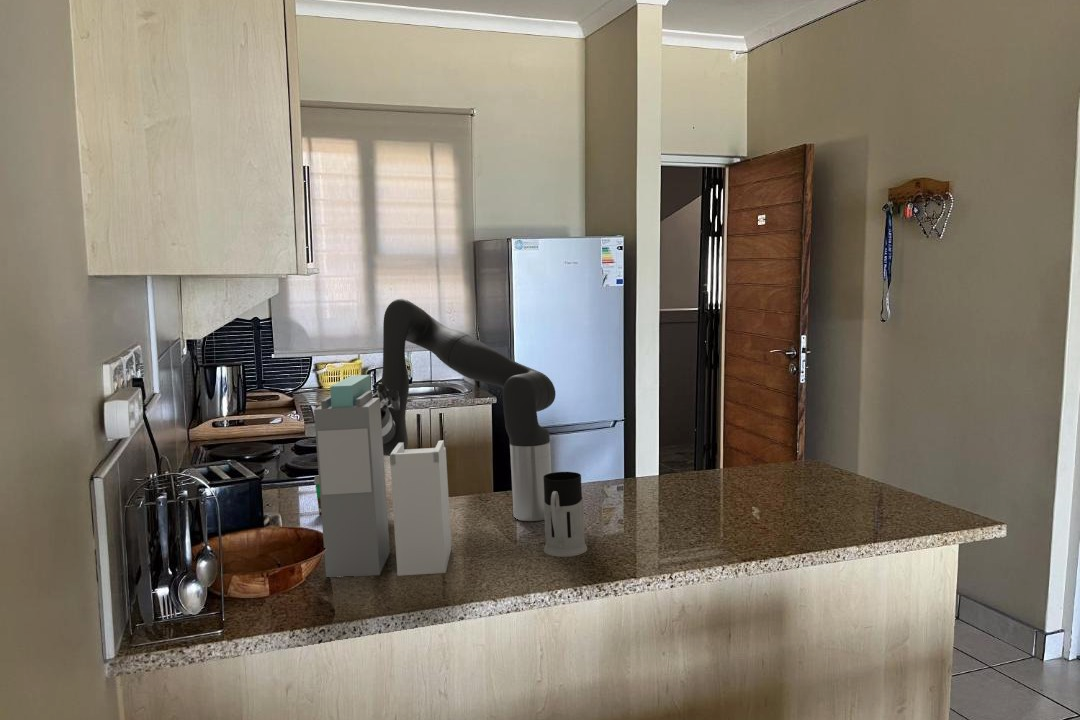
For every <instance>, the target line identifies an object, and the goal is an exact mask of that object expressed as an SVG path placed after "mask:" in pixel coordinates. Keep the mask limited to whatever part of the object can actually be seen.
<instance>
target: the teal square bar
mask: <svg viewBox="0 0 1080 720" xmlns="http://www.w3.org/2000/svg"><path fill="white" fill-rule="evenodd" d="M329 391H330V393H329V394H330V396H331V408H340V407H354V406H355V405H356V399H357V398H358V397H360V396H361V395H363V394H364V393H366V392H367V391H372V381H371V374H358V375H350V376H348V377H346V378H344V379H342V380H341V381H338V382H336V383H334V384H332V385H331V386H329Z"/></svg>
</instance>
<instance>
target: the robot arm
mask: <svg viewBox="0 0 1080 720" xmlns="http://www.w3.org/2000/svg"><path fill="white" fill-rule="evenodd" d="M382 331H383V334H382V335H383V336H382V337H383V338H382V341H383V342H382V343H383V344H382V346H383V347H382V374H381V381H380V382H378V383H377V391H376V392H374V393H372V395H373V398H380V410H381V425H382V440H383V455H384V456H386V457H390V454H391V452H392V451H393V450H394V448H395V447H396V446H397V444H398V443H403V442H404V450H405V449H408V447H409V439H408V438H409V437H408V433H407V432H408V430H407V424H406V423H407V421H406V413H407V405H408V397H409V392H410V380H409V373H408V368H407V361H406V342H409V343H411V344H414V345H416V346H419V347H421V348H423V349H426V350H427V351H429V352H431V353H432V354H434V355H435V357H437V358H438V360H440V362H442V363H443V364H444V365H446V366H447V367H448V368H450V369H451V370H452V371H455V372H457V373H458V374H460V375H461V376H463V377H466V378H468V379H470V380H473V381H477V382H481V383H485V384H487V385H488V384H489V385H493V386H497V387H500V388H502V407H503V416H504V418H503V419H504V426H505V430H506V434H507V436H508V438H509V449H510V450H509V452H510V470H511V473H510V474H511V490H512V493H511V494H512V511H513V518H514V517H515V518H516V519H515V518H514V519H515V520H517V519H518V521H523V522H538V521H545V517H544V479H543V477H544V475H546V474H550V473H552V463H551V461H552V460H551V459H552V458H551V438H550V437H551V436H550V430H549V429H548V428H546V427H543V426H541V425H540V424H539V420H538V413H537V412H541V411H544V410H546V409H548V408H549V407H550V406H552V404H553V403H554V402H555V399H556V389H555V386H554V383H553V381H552V380H551V379H550V378H549V377H548V376H547V375H546V374H544V373H543V372H541V371H538V370H536V369H533V368H531V367H528V366H526V365H524V364H521V363H519V362H517V361H514V360H513V359H511V358H509V357H507V356H506V355H504V354H503V353H501V352H499V351H498V350H496V349H493V348H491V347H490V346H488V345H486V344H484V343H483V342H482V341H480V340H478V339H477V338H475V337H473V336H471V335H470V334H467V333H465V332H463V331H459V330H457V329H452V328H450V327H447V326H445V325H443V324H442V323H440V322H439V321H438V320H436V319H435V318H434V317H432V316H431V315H430V314H429V313H428V312H426V311H425V310H424V309H422V307H419V306H418V305H416V304H414V303H413V302H411V301H410V300H407V299H404V298H397V299H395V300H393V301H392V302H391V303H389V304H388V305H387V307H386V309H385V311H384V315H383V330H382Z"/></svg>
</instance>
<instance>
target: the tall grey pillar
mask: <svg viewBox="0 0 1080 720" xmlns="http://www.w3.org/2000/svg"><path fill="white" fill-rule="evenodd" d="M372 394H373V390H371V391H367V392H366V393H364V394H363V395H361V396H360V397H358V398H357V399H356V405H355V406H354V407H340V408H331V395H329V396H327V397H326V398H324V399H323V400H321V401H320V405H319V406H318V407H316V408H314V409H313V414H314V415H313V416H314V430H315V440H316V441H315V443H316V456H317V457H316V458H317V470H318V476H319V486H320V500H321V514H322V515H321V524H322V525H321V526H322V537H323V549H324V548H327V550H326V551H325V553H324V568H325V578H326V577H337V576H338V578H343V577H342V576H354V577H365V576H366V577H369V576H380V575H381V574H382V571H383V568H384V566H385V564H386V563H387V560H388V558H389V556H390V554H389V553H391V552H390V551H391V550H390V548H391V547H390V534H389V520H388V503H387V502H388V500H387V489H386V488H387V487H386V473H385V472H386V471H385V459H384V455H383V440H382V425H381V410H380V398H373V395H372ZM388 555H389V556H388ZM339 576H341V577H339Z"/></svg>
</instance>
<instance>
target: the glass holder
mask: <svg viewBox="0 0 1080 720" xmlns="http://www.w3.org/2000/svg"><path fill="white" fill-rule="evenodd" d="M543 479H544V517H545V520H544V534H545V535H544V536H545V545H544V548H543V552H544V553H545V554H546V555H548V556H552V557H559V558H561V557H562V558H564V557H565V558H567V557H574V556H580V555H583V554H585V553H586V552H587V551H588V546H587V544H586V539H585V538H586V537H585V536H586V535H585V518H584V517H585V514H584V497H583V492H582V475H581V474H580V473H578V472H574V471H573V472H572V471H556V472H551V473H550V474H546V475H544V477H543Z"/></svg>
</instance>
